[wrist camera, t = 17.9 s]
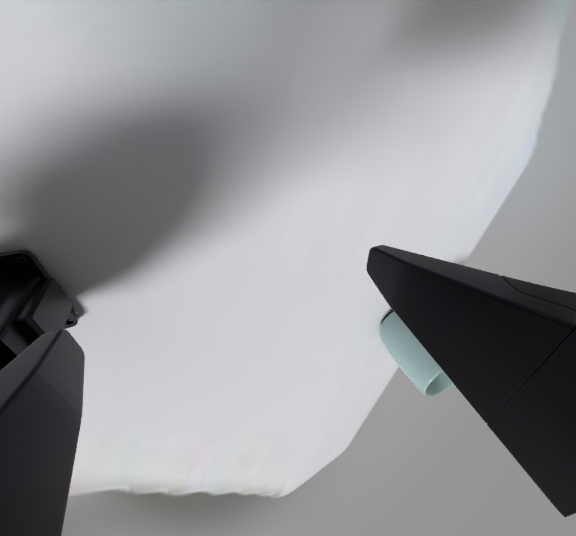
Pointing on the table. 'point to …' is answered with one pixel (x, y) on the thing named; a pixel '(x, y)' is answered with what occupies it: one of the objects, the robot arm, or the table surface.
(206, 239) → the table surface
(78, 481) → the table surface
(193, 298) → the table surface
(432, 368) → the cup
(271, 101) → the table surface
